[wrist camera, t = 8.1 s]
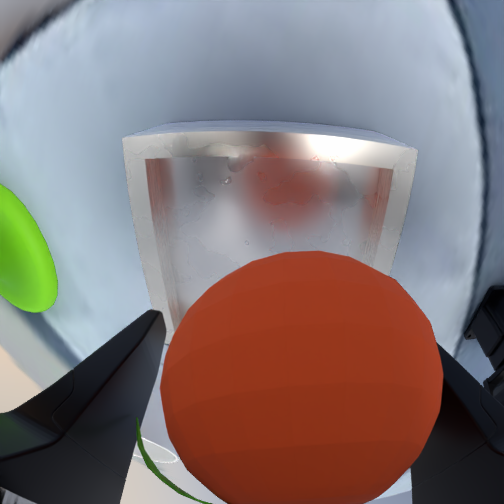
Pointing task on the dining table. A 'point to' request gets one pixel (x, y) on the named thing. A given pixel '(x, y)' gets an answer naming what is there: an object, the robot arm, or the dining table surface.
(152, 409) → the white cup
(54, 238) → the dining table surface
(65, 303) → the dining table surface
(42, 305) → the wineglass
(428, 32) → the dining table surface
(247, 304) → the clementine
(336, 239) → the tray
